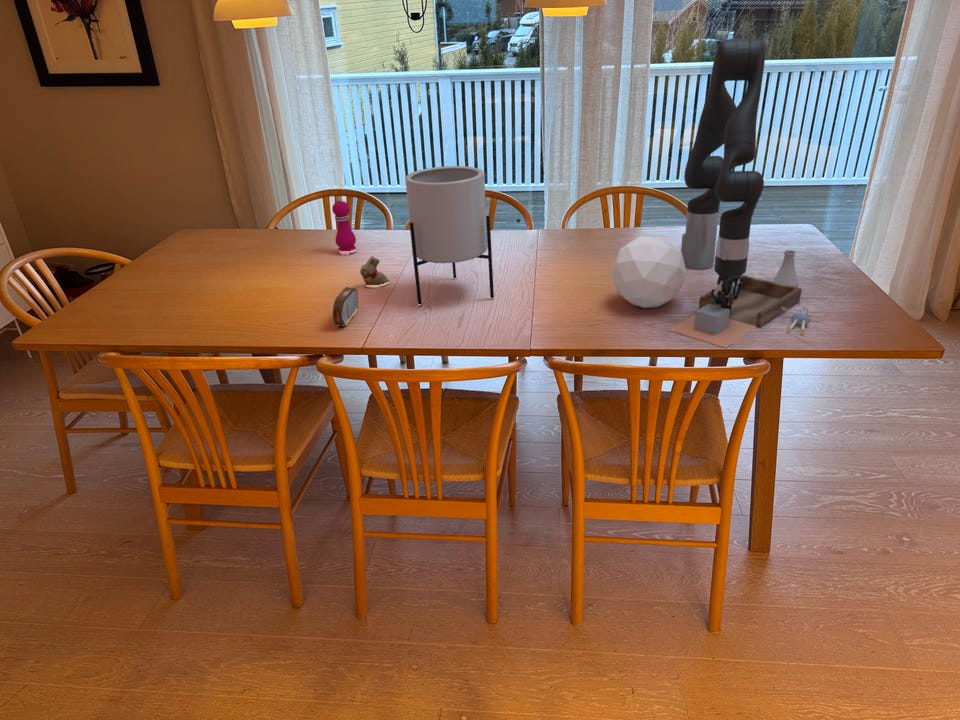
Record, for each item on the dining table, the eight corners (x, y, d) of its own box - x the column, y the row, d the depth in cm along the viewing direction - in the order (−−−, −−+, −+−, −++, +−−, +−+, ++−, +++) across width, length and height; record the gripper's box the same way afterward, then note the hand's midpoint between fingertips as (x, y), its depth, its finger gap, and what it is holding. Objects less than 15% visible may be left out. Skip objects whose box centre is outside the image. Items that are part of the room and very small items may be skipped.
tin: (351, 309, 201) (347, 282, 197) (361, 309, 200) (357, 282, 196) (334, 331, 187) (329, 302, 184) (345, 331, 187) (340, 302, 183)
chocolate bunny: (367, 282, 220) (363, 252, 215) (391, 282, 218) (387, 252, 214) (361, 288, 215) (357, 257, 211) (385, 289, 214) (381, 258, 209)
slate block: (694, 328, 175) (695, 310, 173) (706, 321, 179) (708, 303, 177) (715, 335, 171) (717, 316, 169) (728, 327, 175) (730, 309, 173)
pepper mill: (341, 249, 252) (332, 194, 243) (360, 249, 251) (352, 194, 242) (334, 255, 246) (325, 200, 237) (354, 255, 245) (346, 199, 236)
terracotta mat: (668, 330, 176) (668, 329, 176) (700, 311, 185) (701, 310, 185) (725, 348, 165) (726, 347, 165) (757, 327, 174) (757, 326, 174)
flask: (801, 289, 194) (806, 256, 190) (773, 289, 196) (778, 255, 191) (795, 280, 201) (801, 247, 196) (769, 280, 202) (774, 247, 198)
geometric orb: (665, 328, 193) (707, 285, 177) (601, 312, 187) (639, 267, 172) (656, 276, 203) (696, 231, 188) (595, 259, 198) (631, 212, 182)
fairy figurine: (771, 318, 171) (783, 297, 179) (769, 335, 174) (781, 313, 182) (822, 327, 165) (831, 304, 173) (819, 344, 168) (828, 320, 176)
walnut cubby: (698, 310, 186) (699, 297, 184) (739, 287, 198) (741, 274, 196) (760, 328, 174) (762, 313, 172) (799, 302, 187) (801, 288, 185)
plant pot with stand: (441, 277, 220) (431, 163, 204) (510, 285, 210) (505, 166, 194) (402, 304, 202) (387, 182, 185) (475, 315, 192) (466, 186, 175)
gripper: (731, 243, 176) (724, 306, 184) (703, 257, 168) (697, 322, 176) (759, 249, 171) (751, 313, 179) (732, 264, 163) (724, 330, 171)
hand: (724, 317), depth 178 cm, fingers closed
